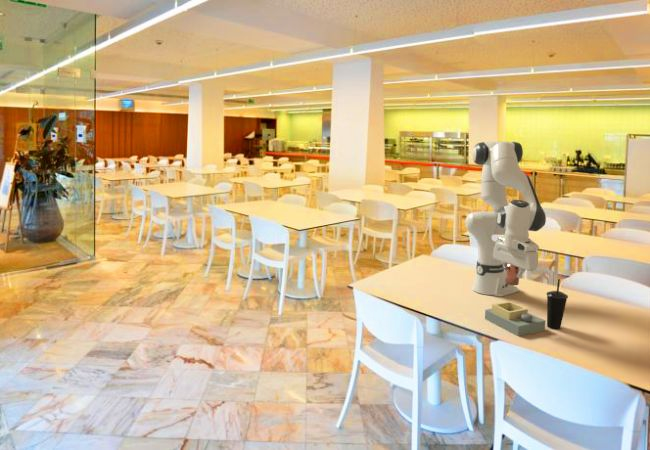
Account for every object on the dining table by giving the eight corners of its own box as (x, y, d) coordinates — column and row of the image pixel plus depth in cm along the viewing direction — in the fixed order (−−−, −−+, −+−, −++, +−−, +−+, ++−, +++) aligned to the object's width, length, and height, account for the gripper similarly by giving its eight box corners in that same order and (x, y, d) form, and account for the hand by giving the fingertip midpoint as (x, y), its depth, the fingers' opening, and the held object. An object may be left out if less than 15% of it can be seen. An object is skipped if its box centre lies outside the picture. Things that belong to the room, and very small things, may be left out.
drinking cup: (539, 323, 194) (544, 276, 190) (557, 322, 195) (562, 276, 191) (549, 331, 187) (555, 282, 183) (568, 330, 187) (574, 282, 183)
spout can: (511, 280, 194) (513, 260, 192) (521, 284, 190) (523, 263, 188) (498, 282, 191) (500, 262, 190) (508, 286, 187) (510, 265, 185)
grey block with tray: (510, 313, 204) (511, 298, 202) (544, 330, 188) (546, 313, 186) (484, 318, 198) (486, 302, 197) (517, 336, 182) (519, 318, 181)
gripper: (490, 237, 195) (488, 269, 198) (530, 248, 177) (526, 284, 180) (502, 235, 198) (499, 267, 201) (542, 247, 180) (538, 282, 182)
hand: (512, 275), depth 190 cm, fingers closed on spout can, 5 cm apart
